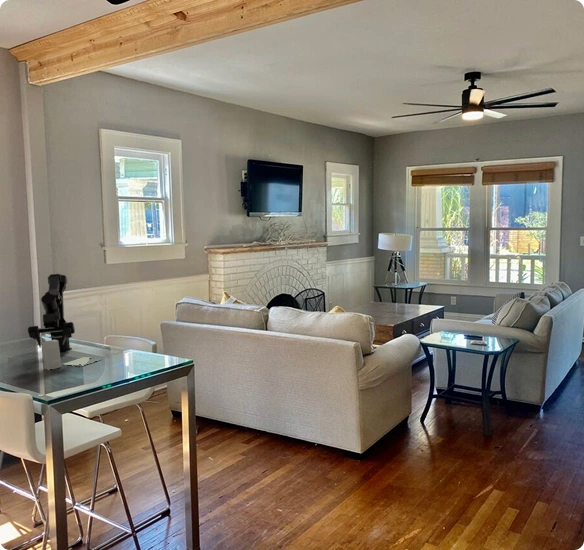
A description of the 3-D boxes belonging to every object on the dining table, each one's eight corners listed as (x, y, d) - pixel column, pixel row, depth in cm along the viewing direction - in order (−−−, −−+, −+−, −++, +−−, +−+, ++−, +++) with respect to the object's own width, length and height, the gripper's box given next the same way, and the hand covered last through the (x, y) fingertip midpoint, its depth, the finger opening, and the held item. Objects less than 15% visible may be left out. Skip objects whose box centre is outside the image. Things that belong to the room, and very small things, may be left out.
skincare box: (58, 365, 243) (54, 339, 241) (61, 367, 240) (58, 340, 238) (44, 369, 239) (40, 342, 237) (47, 370, 236) (44, 343, 234)
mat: (84, 357, 254) (84, 356, 254) (102, 359, 248) (102, 359, 248) (62, 364, 244) (62, 364, 243) (81, 367, 238) (81, 366, 238)
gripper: (25, 308, 241) (24, 338, 232) (71, 304, 246) (71, 332, 237) (31, 323, 249) (29, 352, 240) (74, 318, 254) (74, 346, 245)
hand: (51, 345), depth 240 cm, fingers open, 9 cm apart
